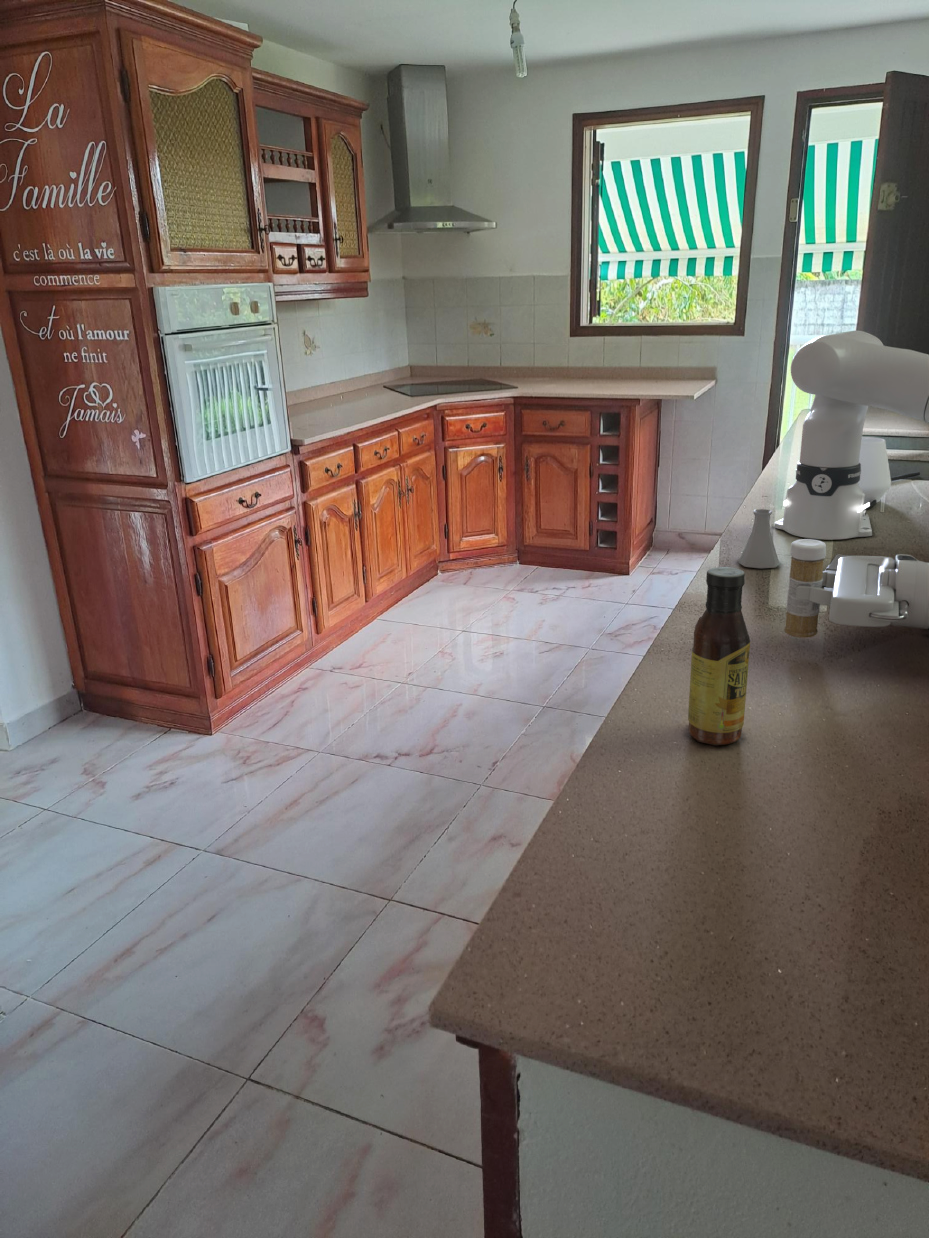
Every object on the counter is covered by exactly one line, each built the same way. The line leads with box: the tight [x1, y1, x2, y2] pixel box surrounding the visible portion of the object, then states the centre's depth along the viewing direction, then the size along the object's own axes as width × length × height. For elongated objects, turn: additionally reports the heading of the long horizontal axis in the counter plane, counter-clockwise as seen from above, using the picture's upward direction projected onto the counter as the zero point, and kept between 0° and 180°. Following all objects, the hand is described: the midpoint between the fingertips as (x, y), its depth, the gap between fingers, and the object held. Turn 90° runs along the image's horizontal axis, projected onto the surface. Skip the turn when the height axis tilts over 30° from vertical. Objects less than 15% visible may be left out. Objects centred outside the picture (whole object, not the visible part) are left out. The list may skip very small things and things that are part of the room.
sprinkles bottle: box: [783, 538, 827, 639], centre depth 124 cm, size 5×5×14 cm
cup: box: [858, 436, 892, 505], centre depth 202 cm, size 13×13×14 cm
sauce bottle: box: [687, 566, 751, 746], centre depth 99 cm, size 6×6×20 cm
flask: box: [738, 508, 780, 569], centre depth 161 cm, size 7×7×10 cm
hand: (798, 584), depth 124 cm, fingers closed on sprinkles bottle, 4 cm apart
